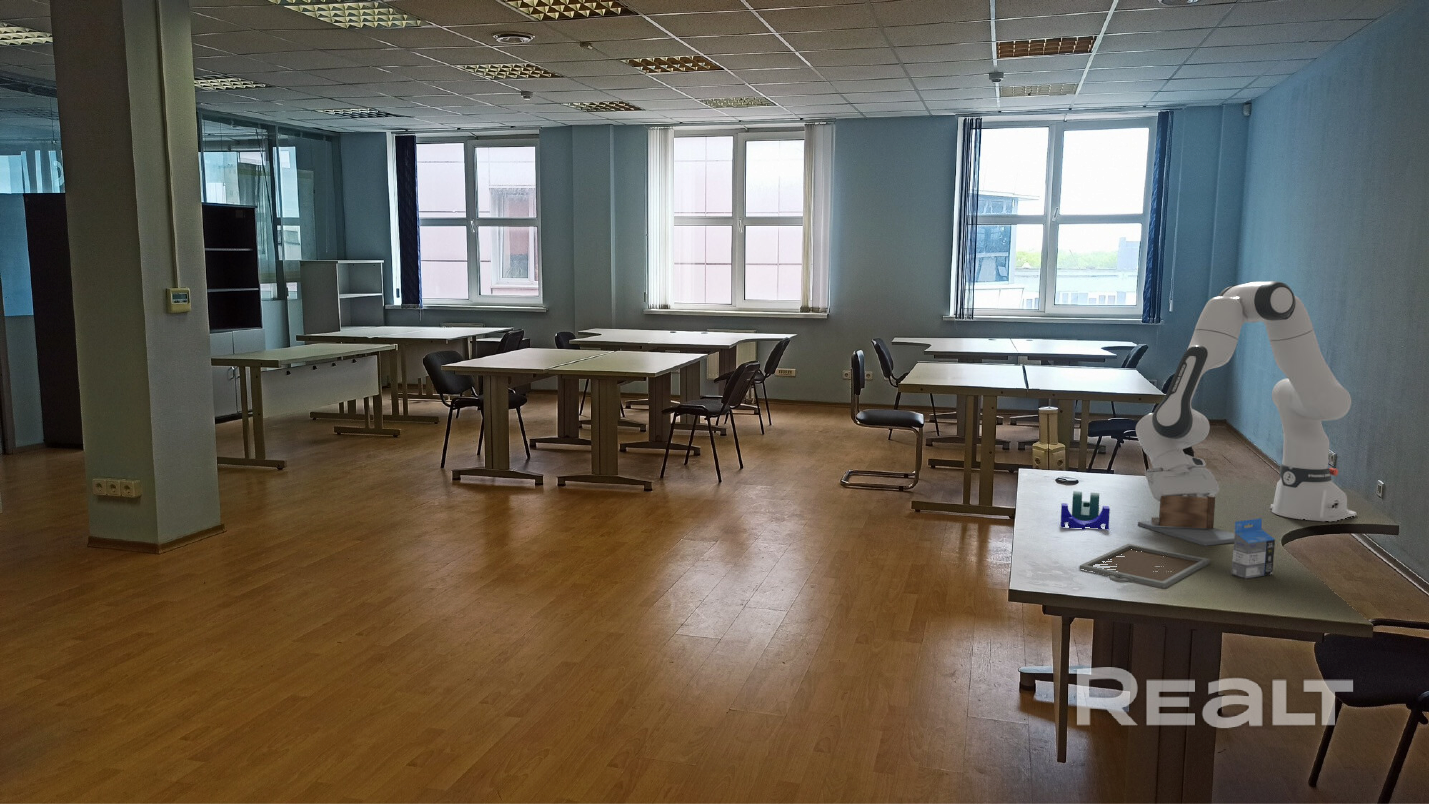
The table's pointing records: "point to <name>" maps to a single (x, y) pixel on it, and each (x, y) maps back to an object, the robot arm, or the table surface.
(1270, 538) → the ink cartridge box
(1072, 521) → the cable clip
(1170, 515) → the gate leaf
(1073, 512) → the bracket
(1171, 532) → the grey plate
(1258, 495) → the table surface
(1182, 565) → the picture frame
